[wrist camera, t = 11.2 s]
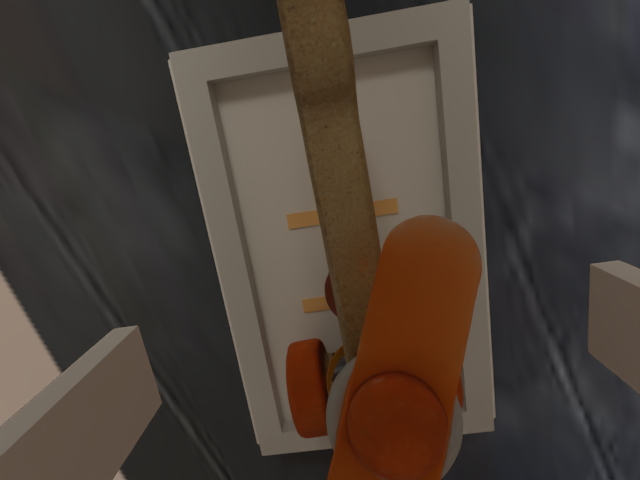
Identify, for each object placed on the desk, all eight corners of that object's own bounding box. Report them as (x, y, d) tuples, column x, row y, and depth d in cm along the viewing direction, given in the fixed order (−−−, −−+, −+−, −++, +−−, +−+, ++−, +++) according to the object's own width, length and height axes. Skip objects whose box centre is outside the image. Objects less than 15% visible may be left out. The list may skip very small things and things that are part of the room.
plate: (183, 68, 20) (158, 54, 17) (458, 18, 19) (480, -6, 16) (263, 422, 26) (254, 456, 23) (482, 396, 25) (502, 430, 22)
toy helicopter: (310, 412, 23) (280, 778, 10) (226, 54, 18) (-64, -212, 5) (443, 392, 22) (610, 754, 9) (391, 16, 18) (580, -407, 4)
